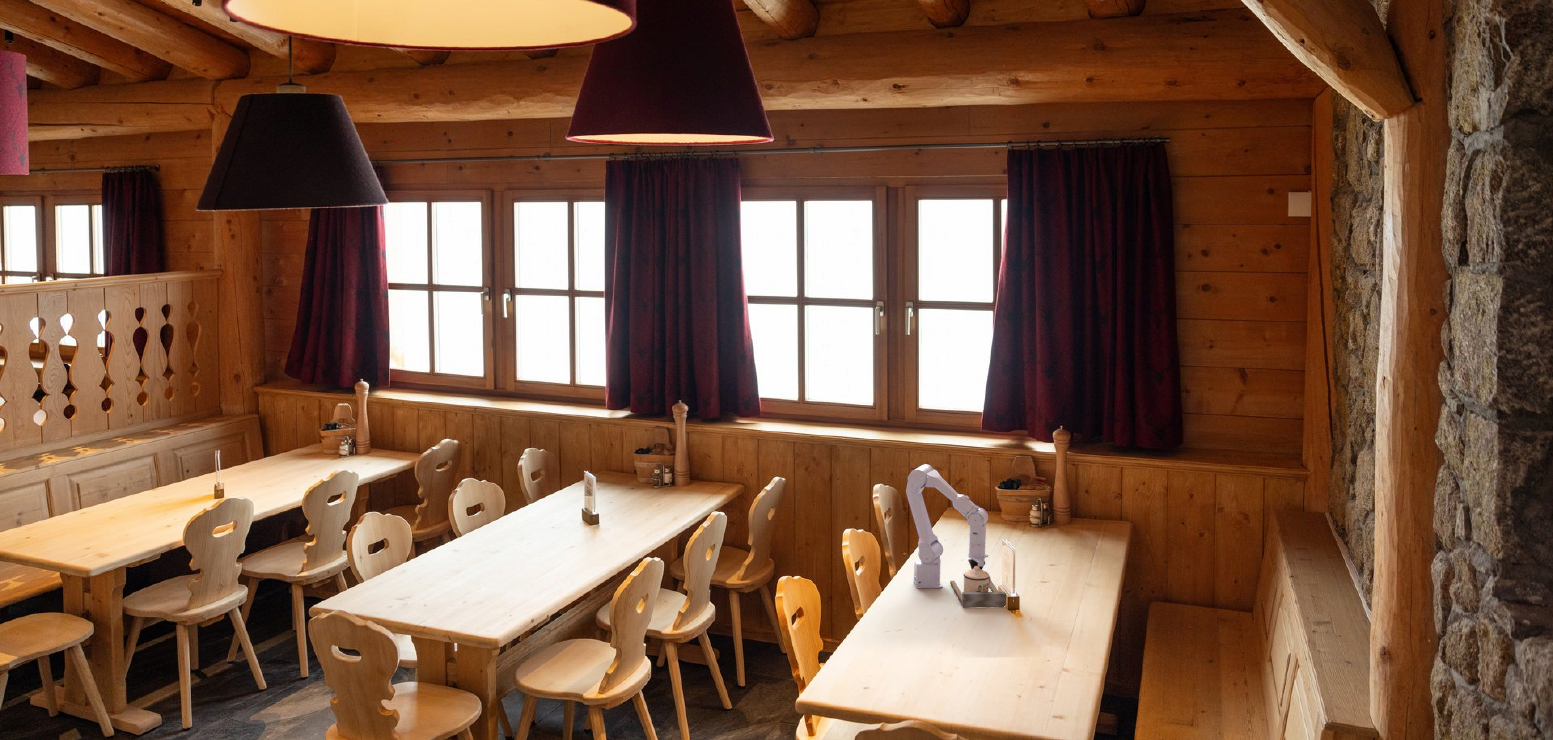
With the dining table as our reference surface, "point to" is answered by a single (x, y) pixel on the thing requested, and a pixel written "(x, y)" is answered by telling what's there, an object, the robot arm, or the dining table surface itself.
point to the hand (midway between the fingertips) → (976, 579)
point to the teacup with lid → (976, 580)
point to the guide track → (980, 597)
